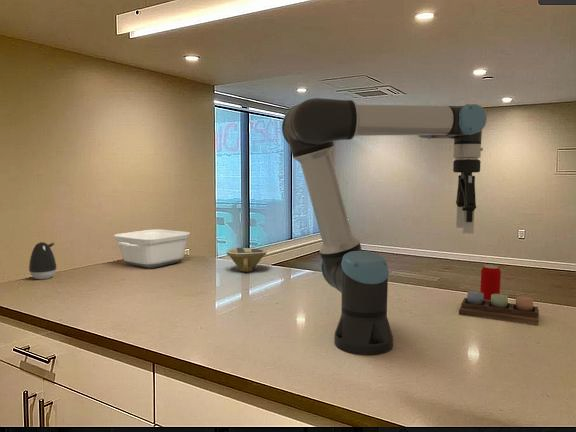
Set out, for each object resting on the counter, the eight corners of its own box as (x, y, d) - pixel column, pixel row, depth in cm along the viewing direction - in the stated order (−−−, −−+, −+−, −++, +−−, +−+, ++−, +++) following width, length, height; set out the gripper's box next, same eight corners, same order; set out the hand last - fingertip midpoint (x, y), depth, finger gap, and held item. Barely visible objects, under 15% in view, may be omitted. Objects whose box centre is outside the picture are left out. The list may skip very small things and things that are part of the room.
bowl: (265, 275, 200) (265, 253, 199) (224, 274, 201) (223, 253, 200) (267, 266, 218) (267, 246, 217) (229, 266, 218) (229, 246, 217)
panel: (538, 325, 135) (538, 315, 135) (458, 314, 145) (459, 305, 145) (538, 314, 145) (539, 305, 145) (464, 304, 156) (464, 296, 156)
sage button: (507, 308, 142) (507, 298, 142) (490, 305, 144) (490, 296, 144) (508, 304, 146) (508, 294, 146) (491, 302, 148) (491, 292, 148)
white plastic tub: (145, 274, 202) (144, 240, 201) (104, 266, 218) (103, 235, 216) (200, 261, 231) (199, 232, 229) (160, 255, 246) (159, 228, 245)
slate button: (482, 304, 145) (482, 295, 145) (466, 302, 147) (466, 293, 147) (484, 301, 149) (484, 292, 149) (468, 299, 152) (468, 290, 151)
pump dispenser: (62, 277, 196) (60, 241, 195) (38, 282, 188) (36, 244, 186) (48, 274, 202) (47, 239, 200) (24, 278, 193) (22, 242, 192)
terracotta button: (532, 311, 139) (533, 301, 138) (515, 309, 141) (515, 299, 141) (533, 307, 143) (533, 297, 142) (515, 305, 145) (516, 295, 145)
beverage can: (495, 303, 157) (497, 269, 156) (477, 300, 161) (478, 266, 160) (502, 300, 161) (503, 266, 160) (483, 296, 166) (485, 263, 164)
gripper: (489, 158, 124) (486, 236, 126) (472, 160, 149) (470, 225, 151) (459, 158, 126) (457, 235, 128) (448, 160, 150) (446, 225, 152)
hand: (464, 230), depth 139 cm, fingers open, 13 cm apart
